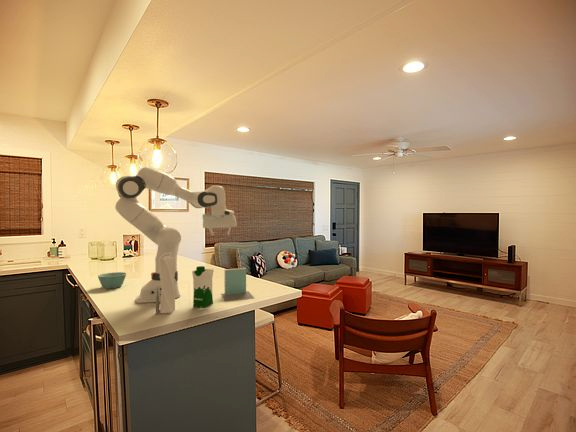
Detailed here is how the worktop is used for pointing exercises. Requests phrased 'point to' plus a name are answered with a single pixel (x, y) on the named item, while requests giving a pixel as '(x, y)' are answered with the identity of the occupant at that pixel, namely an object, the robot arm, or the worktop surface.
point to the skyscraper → (166, 285)
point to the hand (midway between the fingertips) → (220, 235)
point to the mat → (237, 296)
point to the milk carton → (202, 287)
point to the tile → (235, 281)
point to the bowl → (112, 280)
